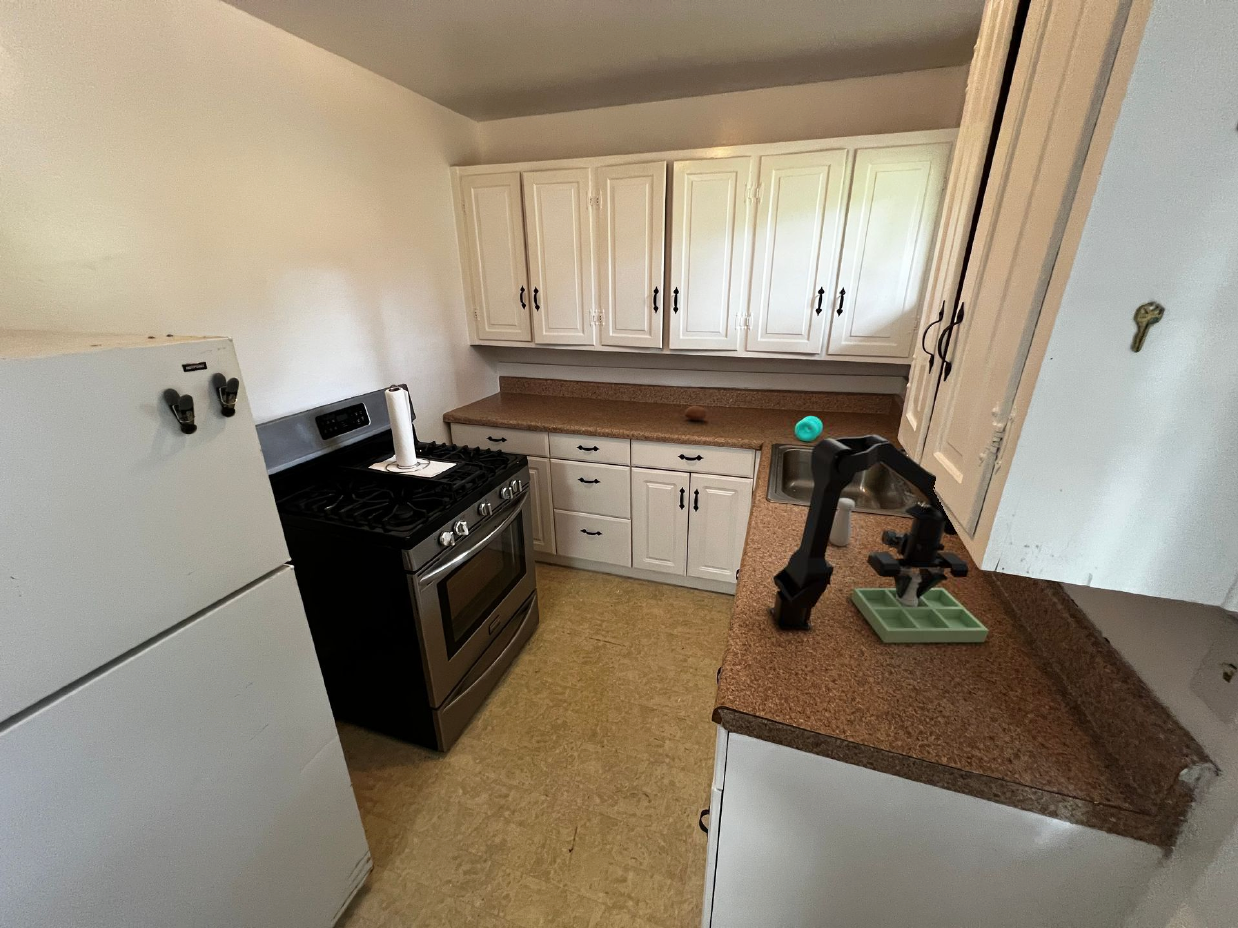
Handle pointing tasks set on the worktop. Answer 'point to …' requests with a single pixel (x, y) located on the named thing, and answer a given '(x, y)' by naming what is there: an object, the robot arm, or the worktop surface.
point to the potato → (695, 413)
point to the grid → (918, 617)
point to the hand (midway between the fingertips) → (907, 597)
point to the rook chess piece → (910, 592)
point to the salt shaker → (842, 522)
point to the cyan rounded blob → (804, 432)
